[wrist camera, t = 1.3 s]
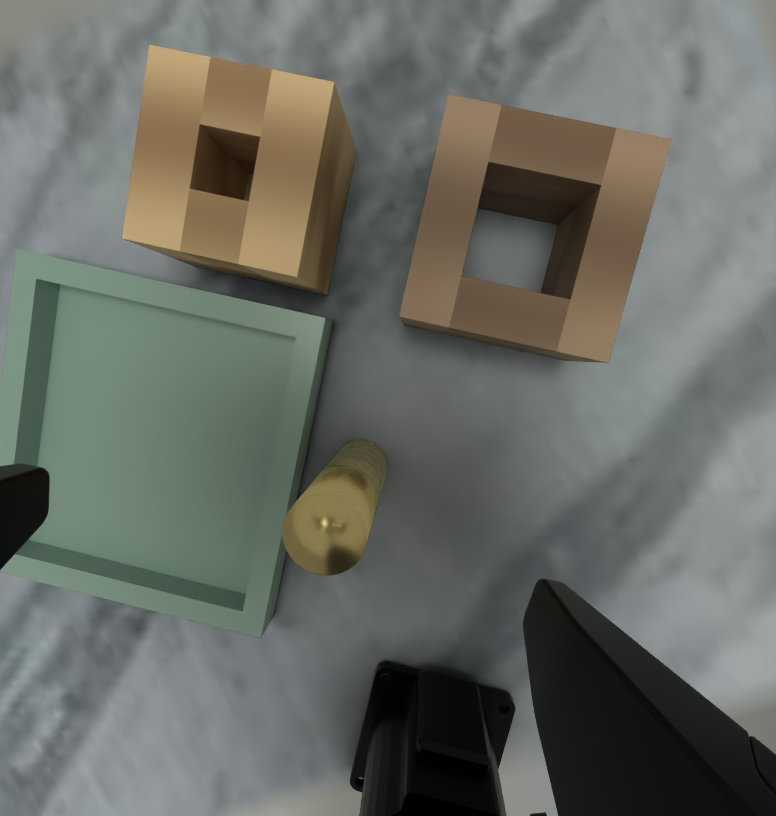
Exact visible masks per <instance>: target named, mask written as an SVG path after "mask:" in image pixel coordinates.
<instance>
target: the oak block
mask: <svg viewBox="0 0 776 816" xmlns="http://www.w3.org/2000/svg"><path fill="white" fill-rule="evenodd" d="M355 155H356V148H355V145H354V142H353V139H352V136H351V133H350V130H349V126H348V123H347V120H346V117H345V114H344V111H343V108H342V105H341V101H340V98H339V95H338V92H337V89H336V86H335V83H334V82H331V81H326V80H321V79H316V78H311V77H306V76H301V75H296V74H291V73H286V72H281V71H276V70H272V69H267V68H262V67H257V66H252V65H247V64H242V63H237V62H232V61H227V60H222V59H217V58H212V57H207V56H202V55H197V54H192V53H187V52H182V51H177V50H172V49H167V48H162V47H157V46H153V45H149V51H148V58H147V65H146V73H145V80H144V87H143V94H142V101H141V108H140V115H139V122H138V129H137V136H136V143H135V150H134V157H133V164H132V171H131V178H130V185H129V192H128V199H127V206H126V213H125V220H124V227H123V234H122V239H125V240H127V241H130V242H133V243H135V244H138V245H140V246H143V247H146V248H148V249H151V250H154V251H156V252H159V253H161V254H164V255H167V256H169V257H172V258H174V259H177V260H180V261H182V262H185V263H188V264H190V265H193V266H196V267H201V268H205V269H210V270H214V271H219V272H223V273H228V274H233V275H237V276H242V277H246V278H251V279H255V280H260V281H264V282H269V283H273V284H278V285H282V286H287V287H291V288H296V289H300V290H305V291H309V292H314V293H318V294H323V295H327V294H328V289H329V284H330V280H331V275H332V270H333V265H334V260H335V255H336V250H337V245H338V240H339V235H340V230H341V225H342V220H343V215H344V210H345V205H346V200H347V195H348V190H349V185H350V180H351V175H352V170H353V165H354V160H355Z"/></svg>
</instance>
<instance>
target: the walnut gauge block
mask: <svg viewBox="0 0 776 816" xmlns="http://www.w3.org/2000/svg"><path fill="white" fill-rule="evenodd" d="M671 140H672V139H668V138H663V137H658V136H653V135H648V134H643V133H638V132H634V131H629V130H624V129H619V128H614V127H609V126H604V125H599V124H594V123H589V122H584V121H579V120H574V119H569V118H564V117H559V116H554V115H549V114H544V113H539V112H534V111H529V110H524V109H519V108H514V107H509V106H504V105H499V104H494V103H489V102H484V101H479V100H474V99H469V98H464V97H459V96H454V95H449V94H448V98H447V102H446V107H445V111H444V116H443V120H442V125H441V129H440V134H439V138H438V143H437V147H436V152H435V156H434V161H433V165H432V170H431V174H430V179H429V183H428V188H427V192H426V197H425V201H424V206H423V210H422V215H421V219H420V224H419V228H418V233H417V237H416V242H415V246H414V251H413V255H412V260H411V264H410V269H409V273H408V278H407V282H406V287H405V291H404V296H403V300H402V305H401V309H400V314H399V317H400V319H401V321H402V322H403V324H404V325H408V326H412V327H417V328H421V329H426V330H430V331H435V332H439V333H444V334H448V335H453V336H457V337H462V338H466V339H471V340H475V341H480V342H484V343H489V344H493V345H498V346H502V347H507V348H511V349H516V350H520V351H525V352H529V353H534V354H538V355H543V356H547V357H552V358H556V359H561V360H565V361H583V362H602V363H608V362H609V359H610V355H611V352H612V348H613V344H614V341H615V337H616V334H617V330H618V327H619V323H620V320H621V316H622V313H623V309H624V306H625V302H626V299H627V295H628V292H629V288H630V285H631V281H632V277H633V274H634V270H635V267H636V263H637V260H638V256H639V253H640V249H641V246H642V242H643V239H644V235H645V232H646V228H647V225H648V221H649V218H650V214H651V211H652V207H653V203H654V200H655V196H656V193H657V189H658V186H659V182H660V179H661V175H662V172H663V168H664V165H665V161H666V158H667V154H668V151H669V147H670V144H671ZM477 207H478V208H482V209H487V210H492V211H497V212H501V213H506V214H511V215H516V216H520V217H525V218H530V219H535V220H539V221H544V222H549V223H554V224H558V229H557V233H556V237H555V241H554V245H553V248H552V252H551V256H550V260H549V264H548V268H547V272H546V275H545V279H544V283H543V287H542V291H541V293H538V292H533V291H528V290H524V289H519V288H515V287H510V286H505V285H501V284H496V283H492V282H487V281H482V280H478V279H473V278H469V277H464V276H461V275H462V271H463V267H464V262H465V258H466V254H467V250H468V245H469V241H470V237H471V233H472V228H473V224H474V220H475V216H476V212H477Z"/></svg>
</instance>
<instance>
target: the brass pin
mask: <svg viewBox="0 0 776 816" xmlns="http://www.w3.org/2000/svg"><path fill="white" fill-rule="evenodd" d="M387 467H388V465H387V459H386V456H385V454H384V452H383V451H382V450H381V449H380V448H379V447H378V446H377V445H376V444H374V443H373V442H370V441H367V440H353V441H350V442H348V443H346V444H345V445H344V446H343V447H341V449H340V450H339V451H338V452H337V453H336V455H335V456H334V457H333V458H332V459H331V461H330V462H329V463H328V464H327V465H326V466H325V468H324V469H323V470H322V471H321V472H320V474H319V475H318V476H317V477H316V478H315V480H314V481H313V482H312V483H311V484H310V486H309V487H308V488H307V489H306V490H305V492H304V493H303V494H302V495H301V496H300V498H299V499H298V500H297V501H296V502H295V504H294V505H293V506H292V507H291V508H290V510H289V511H288V513H287V515H286V517H285V519H284V523H283V529H282V535H283V542H284V545H285V548H286V550H287V552H288V554H289V556H290V557H291V558H292V559H293V561H294V562H295V563H296V564H298V565H299V566H300V567H301V568H303V569H305V570H306V571H309V572H311V573H314V574H318V575H335V574H339V573H342V572H344V571H346V570H348V569H350V568H351V567H353V566H354V565H355V564H356V563H357V562H358V561H359V559H360V558H361V556H362V555H363V553H364V551H365V548H366V544H367V541H368V537H369V534H370V530H371V527H372V523H373V520H374V516H375V512H376V509H377V505H378V502H379V498H380V495H381V491H382V488H383V484H384V481H385V477H386V474H387Z"/></svg>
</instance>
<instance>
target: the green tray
mask: <svg viewBox="0 0 776 816" xmlns="http://www.w3.org/2000/svg"><path fill="white" fill-rule="evenodd" d="M333 322H334V321H332V320H330V319H327V318H323V317H319V316H314V315H310V314H305V313H301V312H297V311H292V310H288V309H283V308H279V307H274V306H270V305H265V304H261V303H256V302H252V301H247V300H243V299H238V298H234V297H229V296H225V295H220V294H216V293H212V292H207V291H203V290H198V289H194V288H189V287H185V286H180V285H176V284H171V283H167V282H162V281H158V280H153V279H149V278H144V277H140V276H135V275H131V274H127V273H122V272H118V271H113V270H109V269H104V268H100V267H95V266H91V265H86V264H82V263H77V262H73V261H68V260H64V259H59V258H55V257H50V256H46V255H42V254H37V253H33V252H28V251H24V250H19V249H16V253H15V262H14V270H13V279H12V288H11V297H10V306H9V314H8V323H7V332H6V341H5V350H4V358H3V367H2V376H1V385H0V466H5V465H12V464H19V463H24V464H29V465H34V466H38V467H42V468H45V469H46V470H47V471H48V472H49V475H50V490H49V511H48V515H47V517H46V519H45V521H44V523H43V524H42V525H41V526H40V527H39V528H38V530H37V531H36V532H35V533H34V534H33V535H32V536H31V537H30V538H29V539H28V541H27V542H26V543H25V544H24V545H23V546H22V547H21V548H20V549H19V550H18V551H17V553H16V554H15V555H14V556H13V557H12V558H11V559H10V560H9V561H8V562H7V563H6V565H5V566H4V567H3V568H2V569H1V570H0V572H2V573H6V574H10V575H14V576H18V577H22V578H26V579H30V580H33V581H37V582H41V583H45V584H49V585H53V586H57V587H61V588H65V589H69V590H73V591H77V592H81V593H85V594H89V595H92V596H96V597H100V598H104V599H108V600H112V601H116V602H120V603H124V604H128V605H132V606H136V607H140V608H144V609H148V610H151V611H155V612H159V613H163V614H167V615H171V616H175V617H179V618H183V619H187V620H191V621H195V622H199V623H203V624H206V625H210V626H214V627H218V628H222V629H226V630H230V631H234V632H238V633H242V634H246V635H250V636H254V637H258V638H261V637H262V635H263V633H264V632H265V630H266V628H267V626H268V625H269V623H270V621H271V619H272V617H273V616H274V611H275V606H276V601H277V597H278V592H279V587H280V582H281V577H282V572H283V567H284V562H285V557H286V553H287V550H286V548H285V545H284V542H283V535H282V529H283V523H284V519H285V517H286V515H287V513H288V511H289V510H290V508H291V507H292V506H293V505H294V504H295V502H296V501H297V499H298V494H299V489H300V484H301V479H302V474H303V469H304V464H305V460H306V455H307V450H308V445H309V440H310V435H311V430H312V425H313V420H314V415H315V411H316V406H317V401H318V396H319V391H320V386H321V381H322V376H323V371H324V367H325V362H326V357H327V352H328V347H329V342H330V337H331V332H332V327H333Z"/></svg>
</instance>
